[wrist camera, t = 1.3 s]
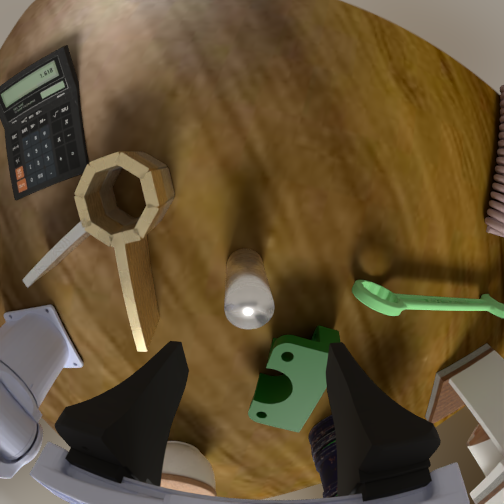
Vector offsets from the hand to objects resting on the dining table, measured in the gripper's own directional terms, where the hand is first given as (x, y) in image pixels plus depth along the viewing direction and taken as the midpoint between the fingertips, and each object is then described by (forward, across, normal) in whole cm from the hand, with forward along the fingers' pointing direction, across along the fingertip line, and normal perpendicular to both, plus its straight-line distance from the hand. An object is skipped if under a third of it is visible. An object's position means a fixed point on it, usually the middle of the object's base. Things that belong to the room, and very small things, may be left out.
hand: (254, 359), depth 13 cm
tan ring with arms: (+10, +13, -2) cm, 16 cm away
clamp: (+12, -2, +11) cm, 16 cm away
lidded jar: (+8, +13, +28) cm, 32 cm away
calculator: (+10, +19, -14) cm, 26 cm away
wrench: (+15, -19, +5) cm, 24 cm away
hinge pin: (+11, +2, 0) cm, 11 cm away
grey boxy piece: (+15, -30, +23) cm, 40 cm away
